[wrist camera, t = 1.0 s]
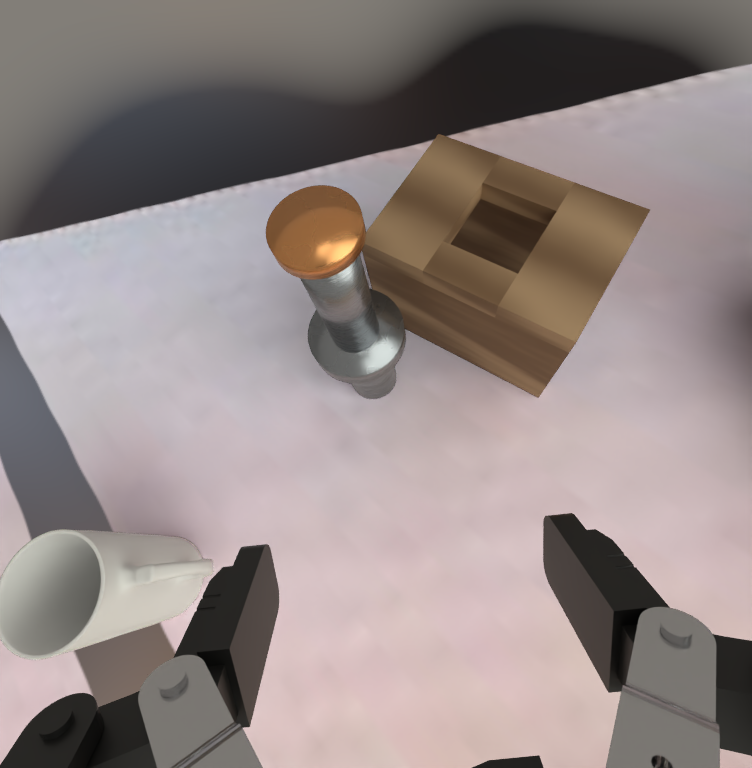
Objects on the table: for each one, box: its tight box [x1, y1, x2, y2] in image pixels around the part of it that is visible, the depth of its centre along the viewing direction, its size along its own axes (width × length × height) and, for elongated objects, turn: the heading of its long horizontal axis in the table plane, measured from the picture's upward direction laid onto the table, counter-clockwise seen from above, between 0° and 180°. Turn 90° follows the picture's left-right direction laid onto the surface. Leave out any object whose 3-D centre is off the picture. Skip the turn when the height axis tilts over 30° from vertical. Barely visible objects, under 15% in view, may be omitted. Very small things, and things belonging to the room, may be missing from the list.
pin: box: [266, 185, 406, 399], centre depth 30 cm, size 7×7×20 cm
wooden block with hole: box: [362, 134, 650, 397], centre depth 35 cm, size 11×16×11 cm
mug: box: [0, 529, 214, 660], centre depth 31 cm, size 10×7×12 cm, turn 100°
